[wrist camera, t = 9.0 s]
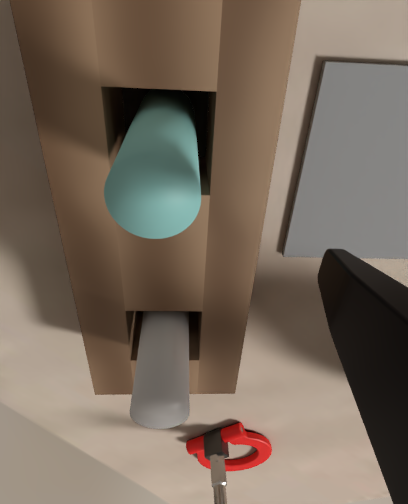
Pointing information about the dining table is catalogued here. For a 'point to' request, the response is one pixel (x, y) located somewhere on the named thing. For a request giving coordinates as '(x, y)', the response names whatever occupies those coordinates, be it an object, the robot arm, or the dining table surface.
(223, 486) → the tow hook
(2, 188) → the dining table surface
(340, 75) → the mat
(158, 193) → the teal peg
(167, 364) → the grey peg
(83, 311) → the hole block
